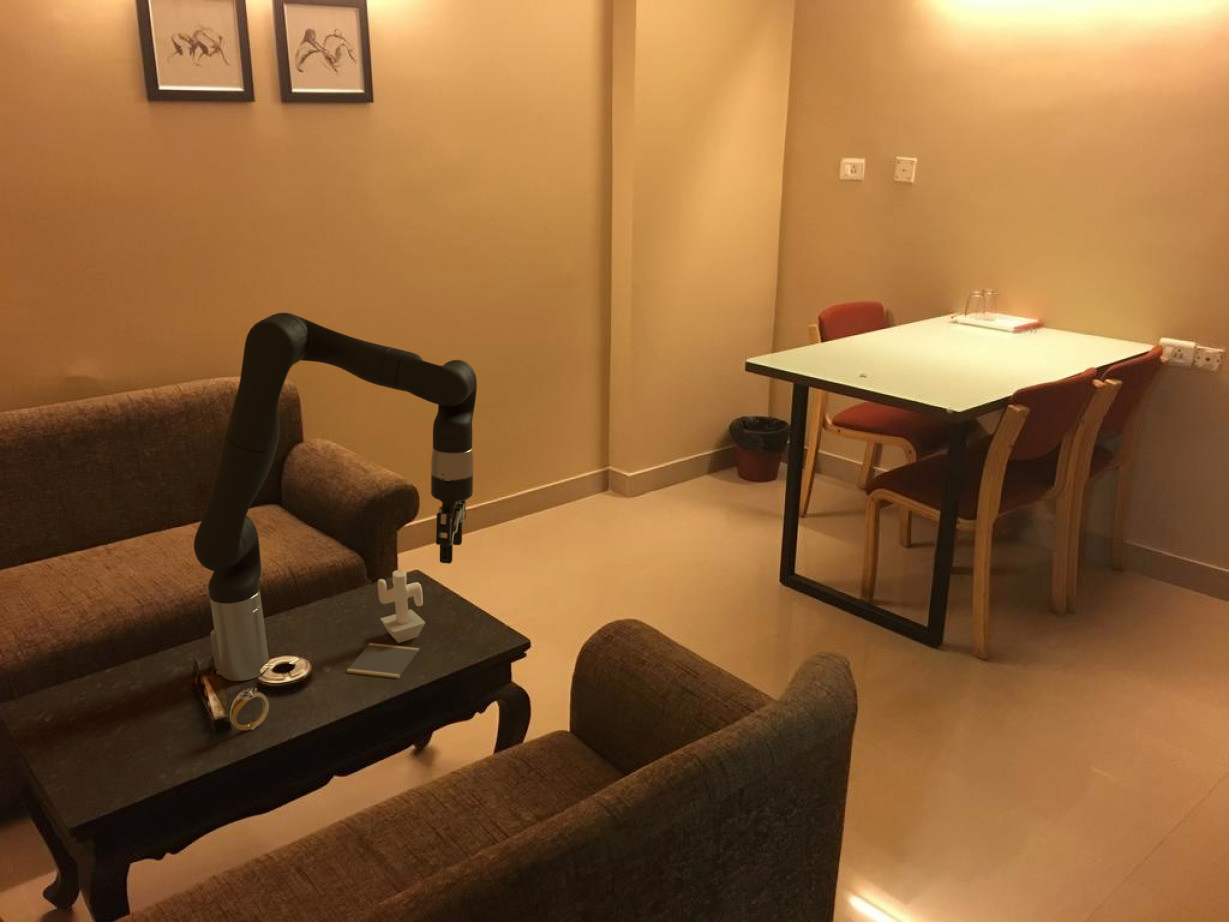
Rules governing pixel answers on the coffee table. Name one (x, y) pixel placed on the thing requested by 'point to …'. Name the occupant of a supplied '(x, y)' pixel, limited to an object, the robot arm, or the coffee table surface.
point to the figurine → (401, 607)
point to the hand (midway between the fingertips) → (451, 553)
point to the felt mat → (383, 660)
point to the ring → (246, 696)
